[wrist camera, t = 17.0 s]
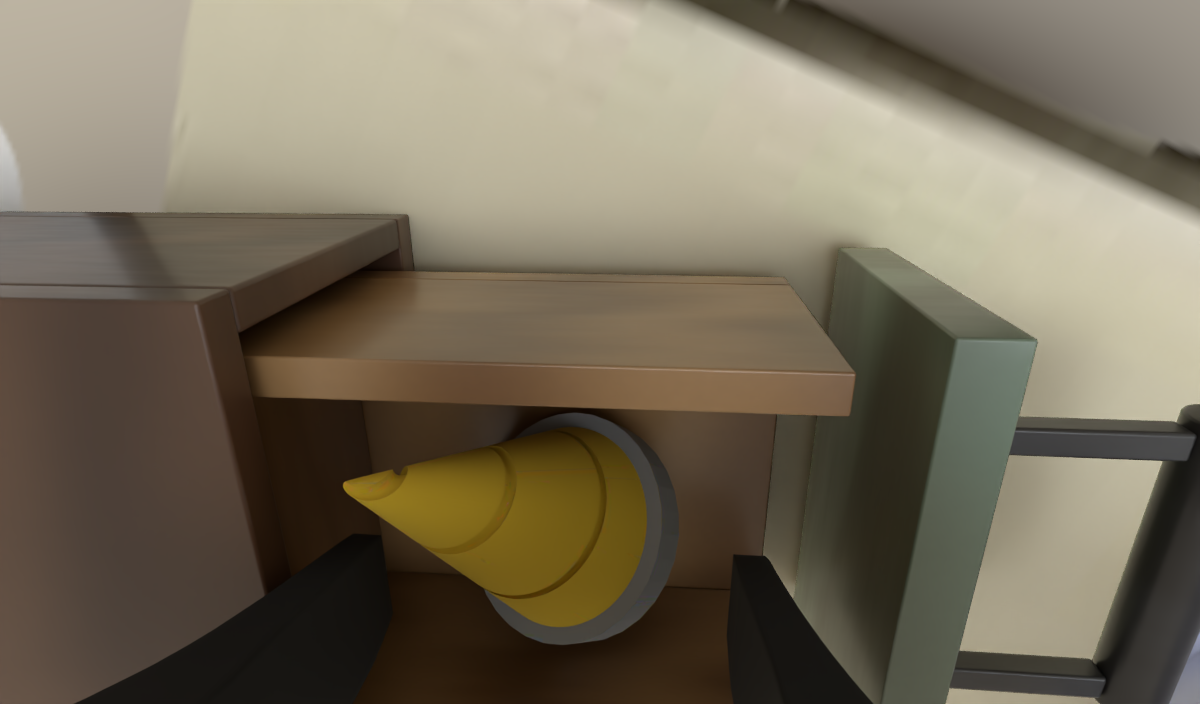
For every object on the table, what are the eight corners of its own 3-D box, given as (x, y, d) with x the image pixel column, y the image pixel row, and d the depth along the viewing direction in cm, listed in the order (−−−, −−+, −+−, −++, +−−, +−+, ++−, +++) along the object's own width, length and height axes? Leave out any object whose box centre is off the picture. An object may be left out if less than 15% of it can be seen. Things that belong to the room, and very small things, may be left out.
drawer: (1131, 250, 15) (1463, 349, 9) (1022, 619, 19) (1198, 866, 13) (329, 241, 17) (134, 319, 11) (383, 583, 21) (265, 785, 15)
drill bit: (528, 570, 20) (201, 553, 12) (604, 414, 20) (339, 292, 12) (667, 679, 16) (352, 759, 8) (755, 491, 17) (533, 396, 9)
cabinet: (408, 214, 18) (196, 301, 9) (449, 581, 22) (329, 851, 14) (-103, 210, 19) (-667, 285, 11) (35, 557, 23) (-292, 792, 15)
